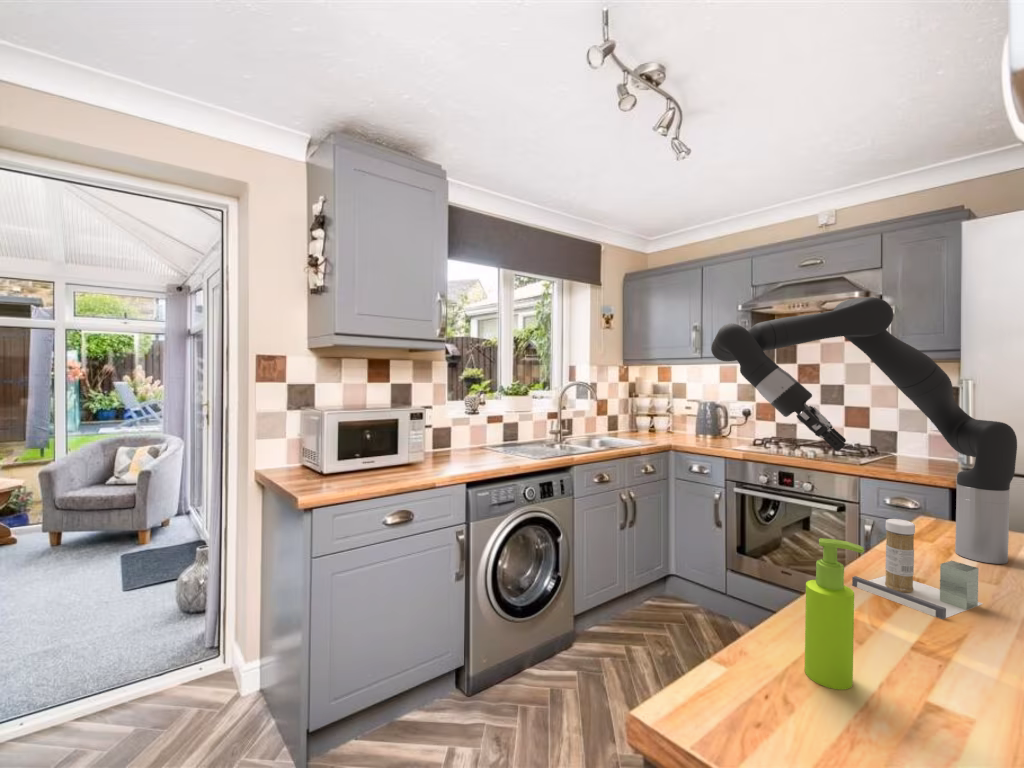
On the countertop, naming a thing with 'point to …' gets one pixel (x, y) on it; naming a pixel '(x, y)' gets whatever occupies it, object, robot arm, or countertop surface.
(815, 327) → the robot arm
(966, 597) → the tea tin
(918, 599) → the tray
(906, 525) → the spice jar
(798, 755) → the countertop surface
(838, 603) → the soap dispenser
